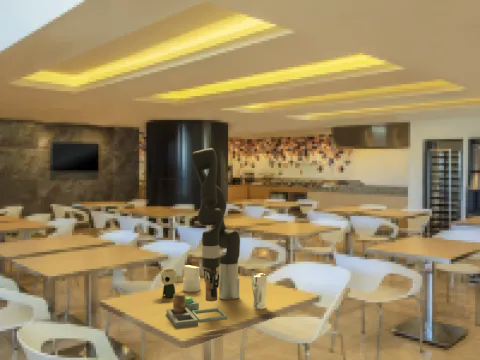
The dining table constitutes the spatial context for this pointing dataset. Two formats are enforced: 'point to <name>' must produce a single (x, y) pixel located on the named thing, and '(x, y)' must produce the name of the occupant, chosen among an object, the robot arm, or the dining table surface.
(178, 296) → the cylinder
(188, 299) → the button
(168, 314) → the grey shallow tray
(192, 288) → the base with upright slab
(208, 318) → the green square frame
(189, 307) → the console
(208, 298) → the cylinder
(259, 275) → the beer glass
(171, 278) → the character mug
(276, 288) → the dining table surface
